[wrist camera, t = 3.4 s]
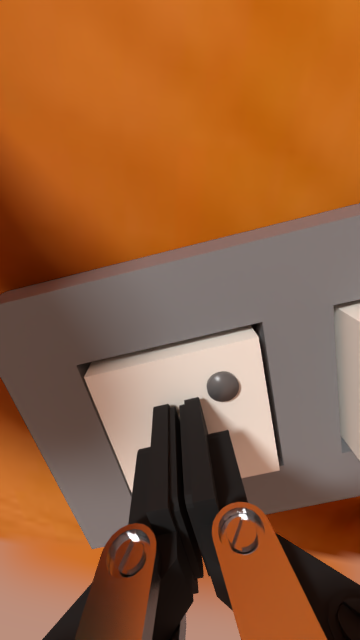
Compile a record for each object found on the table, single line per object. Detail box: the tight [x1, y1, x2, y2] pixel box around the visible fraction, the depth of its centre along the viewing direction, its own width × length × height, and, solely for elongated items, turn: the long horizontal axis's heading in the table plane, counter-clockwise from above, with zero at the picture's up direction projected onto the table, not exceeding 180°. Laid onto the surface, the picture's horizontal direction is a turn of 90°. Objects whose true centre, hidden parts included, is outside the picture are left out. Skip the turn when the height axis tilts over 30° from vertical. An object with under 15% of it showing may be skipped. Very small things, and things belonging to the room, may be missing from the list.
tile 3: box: [84, 325, 280, 492], centre depth 12 cm, size 6×6×3 cm
